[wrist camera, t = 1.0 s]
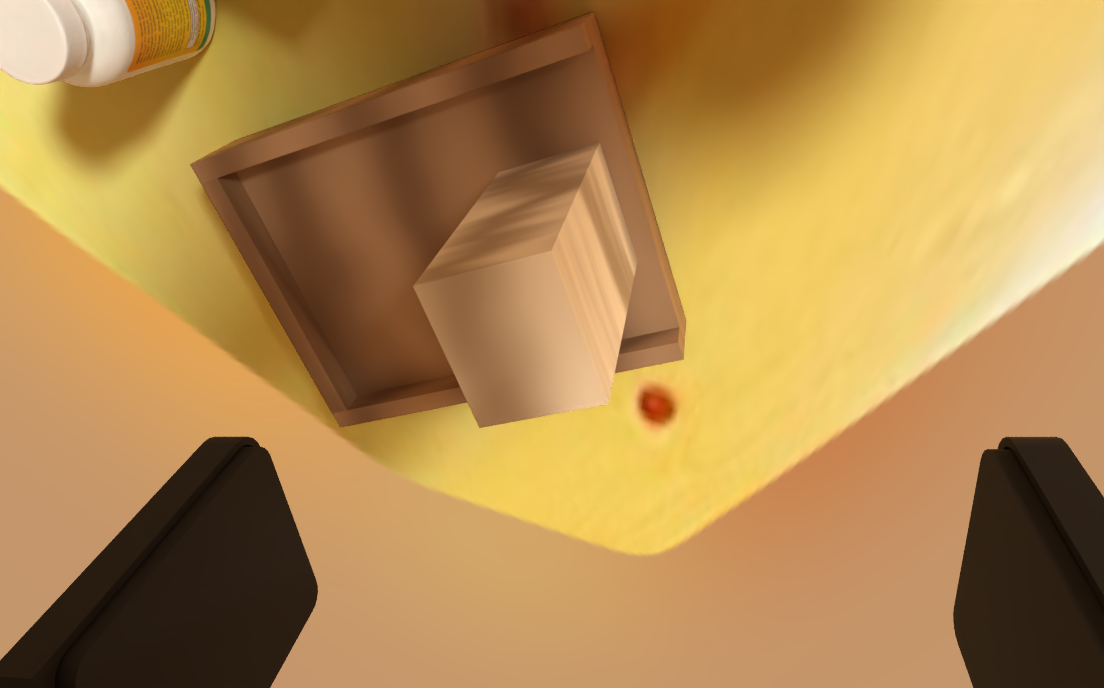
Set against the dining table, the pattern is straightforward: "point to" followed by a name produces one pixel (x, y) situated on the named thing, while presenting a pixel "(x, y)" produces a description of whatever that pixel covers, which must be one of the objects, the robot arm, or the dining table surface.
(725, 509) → the dining table surface
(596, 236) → the beech block
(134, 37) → the supplement bottle
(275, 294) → the walnut tray
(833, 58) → the dining table surface
